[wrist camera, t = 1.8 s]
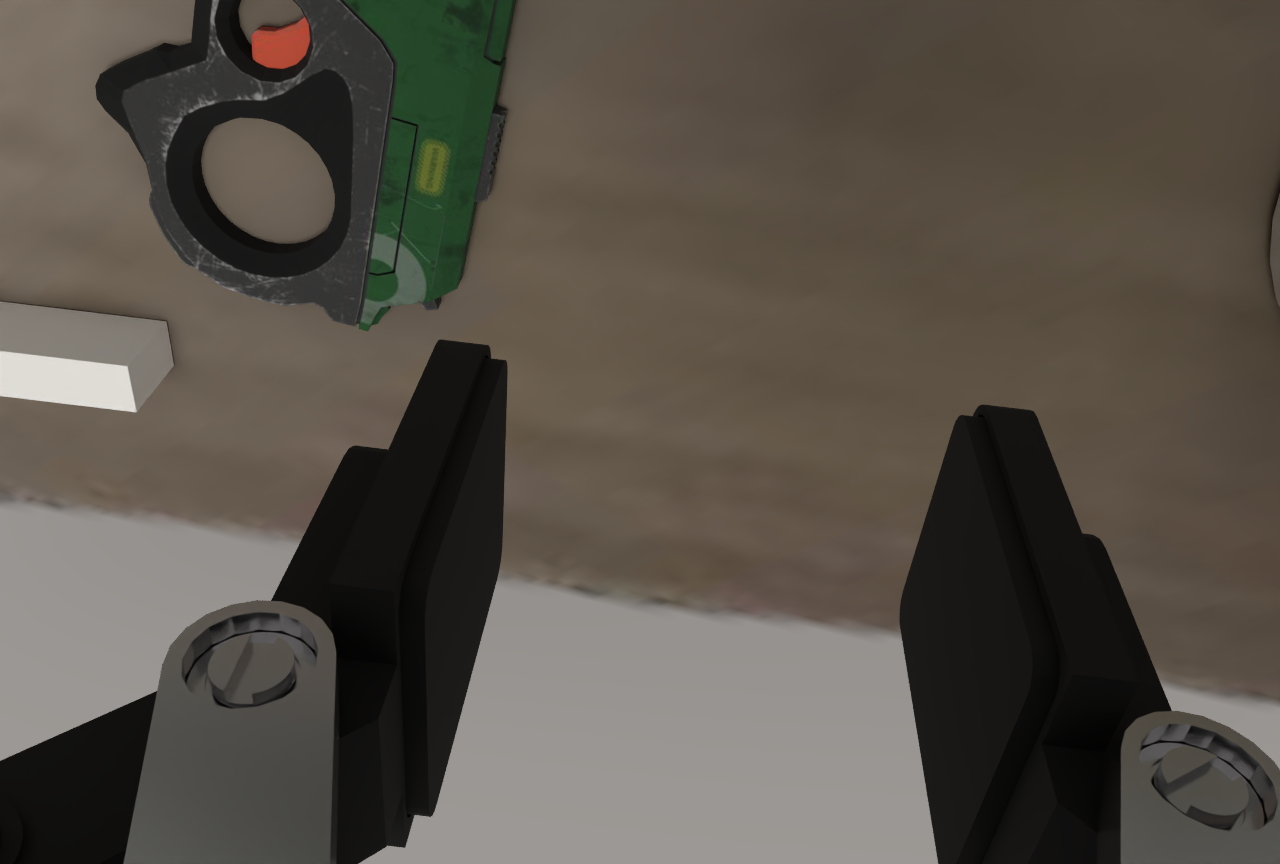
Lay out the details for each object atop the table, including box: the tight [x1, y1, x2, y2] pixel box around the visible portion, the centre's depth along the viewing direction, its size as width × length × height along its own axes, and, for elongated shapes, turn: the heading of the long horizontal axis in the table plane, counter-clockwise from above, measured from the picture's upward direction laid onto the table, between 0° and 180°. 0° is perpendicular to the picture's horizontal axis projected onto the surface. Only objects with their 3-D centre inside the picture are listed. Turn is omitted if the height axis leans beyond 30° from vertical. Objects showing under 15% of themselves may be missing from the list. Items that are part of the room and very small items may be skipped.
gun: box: [96, 0, 516, 331], centre depth 27 cm, size 16×1×10 cm
